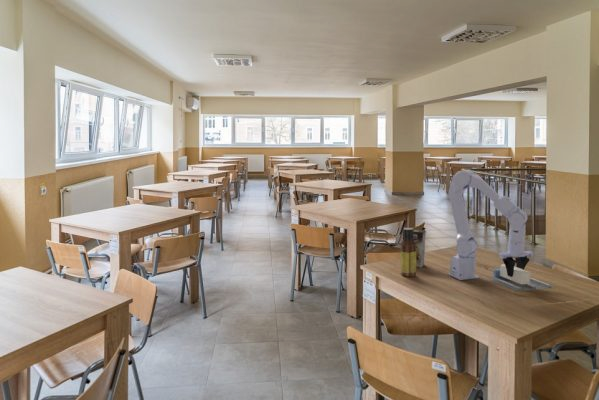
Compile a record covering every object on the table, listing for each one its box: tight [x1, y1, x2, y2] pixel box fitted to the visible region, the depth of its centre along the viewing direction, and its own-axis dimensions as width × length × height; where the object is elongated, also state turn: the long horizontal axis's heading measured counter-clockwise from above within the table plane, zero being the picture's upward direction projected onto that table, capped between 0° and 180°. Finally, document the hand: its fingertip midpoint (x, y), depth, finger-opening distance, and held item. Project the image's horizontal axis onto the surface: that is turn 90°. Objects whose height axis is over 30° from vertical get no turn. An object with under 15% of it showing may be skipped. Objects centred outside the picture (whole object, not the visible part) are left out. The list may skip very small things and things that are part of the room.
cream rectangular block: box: [499, 263, 531, 284], centre depth 176 cm, size 4×12×4 cm, turn 15°
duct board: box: [488, 268, 557, 292], centre depth 178 cm, size 18×16×4 cm
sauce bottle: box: [400, 227, 417, 277], centre depth 189 cm, size 7×6×20 cm
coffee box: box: [402, 228, 427, 268], centre depth 205 cm, size 9×6×16 cm
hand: (514, 275), depth 177 cm, fingers closed on cream rectangular block, 4 cm apart
